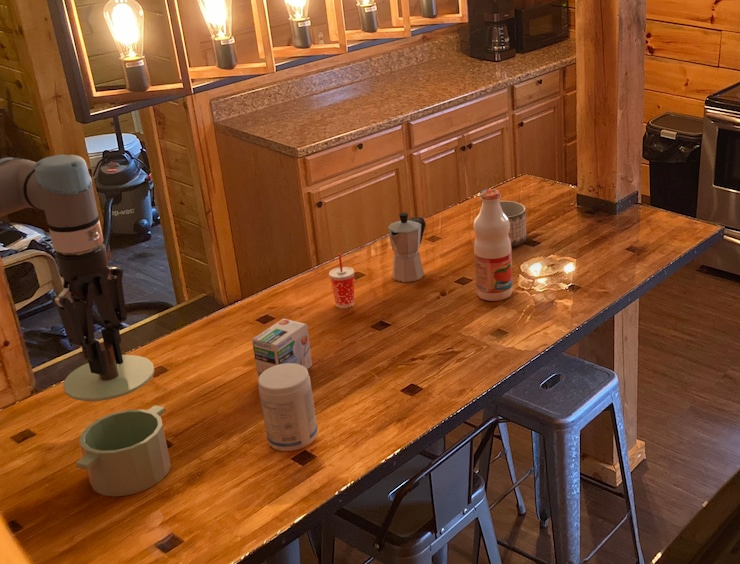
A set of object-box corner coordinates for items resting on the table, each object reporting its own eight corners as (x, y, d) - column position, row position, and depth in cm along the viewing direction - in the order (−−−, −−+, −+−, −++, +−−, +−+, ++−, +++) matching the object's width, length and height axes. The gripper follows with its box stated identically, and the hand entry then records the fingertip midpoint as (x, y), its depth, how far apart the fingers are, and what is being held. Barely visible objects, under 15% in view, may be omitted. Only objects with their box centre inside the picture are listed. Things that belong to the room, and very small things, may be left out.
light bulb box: (282, 389, 204) (275, 345, 199) (257, 382, 206) (250, 339, 201) (313, 365, 213) (308, 322, 208) (289, 359, 215) (283, 317, 211)
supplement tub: (297, 419, 193) (288, 356, 187) (328, 435, 188) (320, 371, 182) (257, 442, 186) (246, 378, 180) (288, 459, 181) (278, 394, 175)
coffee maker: (408, 288, 248) (402, 224, 241) (380, 281, 251) (374, 219, 244) (440, 266, 260) (436, 205, 253) (413, 260, 264) (409, 200, 256)
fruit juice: (484, 283, 251) (479, 184, 240) (518, 288, 249) (514, 187, 237) (470, 299, 243) (465, 196, 231) (505, 304, 240) (501, 200, 229)
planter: (531, 235, 280) (531, 203, 276) (518, 253, 269) (517, 219, 264) (491, 231, 283) (489, 199, 278) (476, 248, 271) (474, 214, 267)
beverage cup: (327, 304, 239) (321, 254, 234) (348, 296, 244) (342, 246, 238) (342, 312, 236) (336, 261, 230) (362, 303, 240) (357, 253, 234)
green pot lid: (45, 394, 166) (35, 359, 163) (109, 354, 178) (102, 320, 175) (111, 411, 161) (103, 375, 158) (172, 368, 174) (166, 334, 171)
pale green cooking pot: (61, 496, 171) (49, 452, 167) (139, 437, 187) (130, 396, 184) (122, 512, 167) (111, 468, 163) (196, 451, 183) (188, 409, 180)
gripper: (57, 270, 151) (87, 395, 161) (134, 232, 165) (157, 349, 175) (21, 263, 153) (53, 386, 163) (99, 226, 167) (125, 342, 177)
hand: (107, 367), depth 169 cm, fingers closed on green pot lid, 3 cm apart
